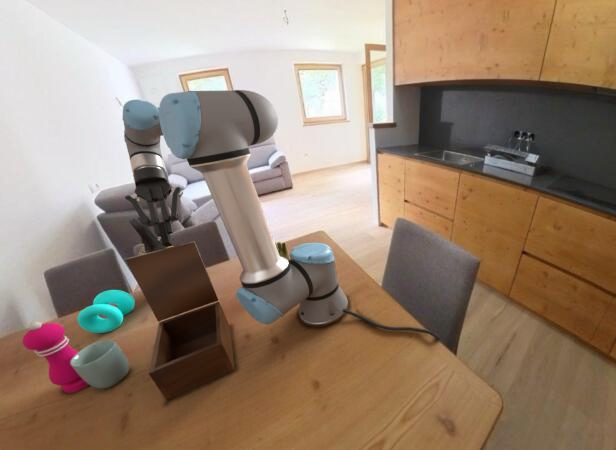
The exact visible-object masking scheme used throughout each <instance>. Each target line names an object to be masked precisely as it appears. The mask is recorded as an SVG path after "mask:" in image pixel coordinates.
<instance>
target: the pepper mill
mask: <svg viewBox="0 0 616 450" xmlns="http://www.w3.org/2000/svg"><path fill="white" fill-rule="evenodd" d="M28 329H29V330H28V331H27V332H26V333H25V334H24V335H23V337H22V339H21V341H22V345H23V346H24V348H25V349H27V350H31V351H34V353H35V354H36V355H37V357H42V358H44V359H45V360H46V361H47V363H48V378H49V380H50V382H51V383H52V384H53V385H56V386H60V389H62V390H63V391H64V392H65V393H67V394H68V393H76V392H79V391H81V390H83V389H84V388H87V387H88V386H90V385H89V384H87V383H86V382H85V381H84V380H83V379H82V378H81V377H80V376H79V375H78V374H77V373H76V371H75V370H74V369H73V368H72V366H71V364H70V362H71V359H72V358H73V357H74V356H75V355H76V354H77V353H78V352H79V351H80V350H79V351H78V350H75V349H74V348H72V346H70V345H69V342H70V339H69V338H68V336H66V335H65V333H66V329H65V328H64V327H63V325H61V324H60V323H57V322H56V323H55V322H47V323H42V322H40V321H33V322H31V323H30V324H29V325H28Z"/></svg>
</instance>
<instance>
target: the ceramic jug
mask: <svg viewBox="0 0 616 450" xmlns="http://www.w3.org/2000/svg"><path fill="white" fill-rule="evenodd" d="M129 223H130V225H131V226H132V227H133V229H134V230H135V232H136V233H137V234H138V236H140V239H141V246H140V248H139V251H138V255H142V254H146V253H150V252H154V251H158V250H162V249H166V248H169V247H173V246H175V244H173V243H172V245H173V246H169V247H165V246H164V245H163V244H162V240H161V238H160V237H158V236H157V235H154V233H153V232H152V230H151V229H150V227H148V226H147V225H146V224H145V223H143V221H142V220H141V218H140V217H134V218H132V219H130V220H129Z"/></svg>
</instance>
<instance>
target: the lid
mask: <svg viewBox="0 0 616 450" xmlns="http://www.w3.org/2000/svg"><path fill="white" fill-rule="evenodd" d="M125 262H126V264H127V266H128V269H129V270H130V272H131V274H132V276H133V277H134V280H135V281H136V283H137V285H138V287H139V288H140V291H141V292H142V294H143V296H144V298H145V301H146V302H147V304H148V306H149V307H150V309H151V311H152V313H153V315H154V318H155V319H156V321H157V322H162V321H164V320H167V319H170V318H173V317H176V316H179V315H181V314H184V313H187V312H190V311H193V310H196V309H199V308H201V307H204V306H207V305H210V304H213V303H216V302H219V297H218V295H217V292H216V290H215V287H214V284H213V282H212V280H211V277H210V275H209V273H208V270H207V268H206V266H205V263H204V261H203V258H202V256H201V253H200V250H199V248H198V245H197V243H196V241H194V240H193V241H189V242H186V243H182V244H178V245H174V246H173V247H169V248H166V249H162V250H158V251H154V252H150V253H146V254H142V255H139V254H138V255H135V256H130V257H126V258H125Z"/></svg>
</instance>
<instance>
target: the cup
mask: <svg viewBox="0 0 616 450" xmlns="http://www.w3.org/2000/svg"><path fill="white" fill-rule="evenodd" d="M70 364H71V366H72V368H73V369H74V370H75V371H76V373H77V374H78V375H79V376H80V377H81V378H82V379H83V380H84V381H85V382H86V383H87V384H89V385H88V386H90V387H92V388H94V389H101V390H102V389H109V388H111V387H113V386H115V385H117V384H118V383H120V382H121V381H122V380H123V379H125V378H126V376H127V374H128V373H129V370H130V363H129V360H128V358H127V356H126V354H125V353H124V351H123V349H122V348H121V347H120V345H119V344H118V343H117V341H115V340H114V339H111V338H109V339H101V340H98V341H97V340H96V341H95V342H92V343H91V344H89V345H87V346H85V347H84V348H82V349H81V350H79V352H78V353H77V354H76V355H75V356H74V357H73V358H72V359H71V362H70Z"/></svg>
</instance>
